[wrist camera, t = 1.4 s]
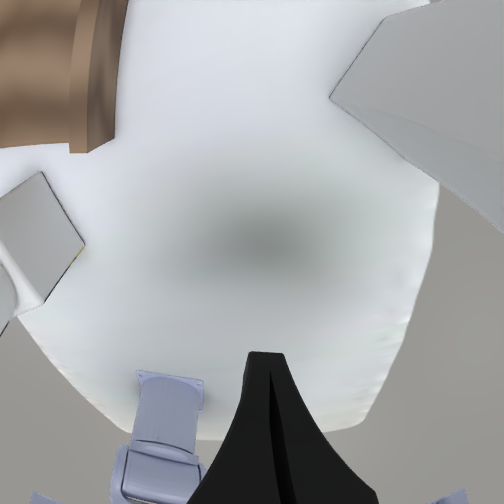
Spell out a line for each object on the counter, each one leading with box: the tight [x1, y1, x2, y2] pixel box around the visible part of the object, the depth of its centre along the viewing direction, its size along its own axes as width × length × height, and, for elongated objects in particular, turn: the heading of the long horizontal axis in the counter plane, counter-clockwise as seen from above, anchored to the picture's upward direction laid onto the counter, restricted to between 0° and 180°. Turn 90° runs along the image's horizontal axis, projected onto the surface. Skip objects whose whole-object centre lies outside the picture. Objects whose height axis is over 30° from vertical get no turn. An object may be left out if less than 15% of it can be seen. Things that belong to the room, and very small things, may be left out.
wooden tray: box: [0, 0, 128, 153], centre depth 9 cm, size 18×14×4 cm
